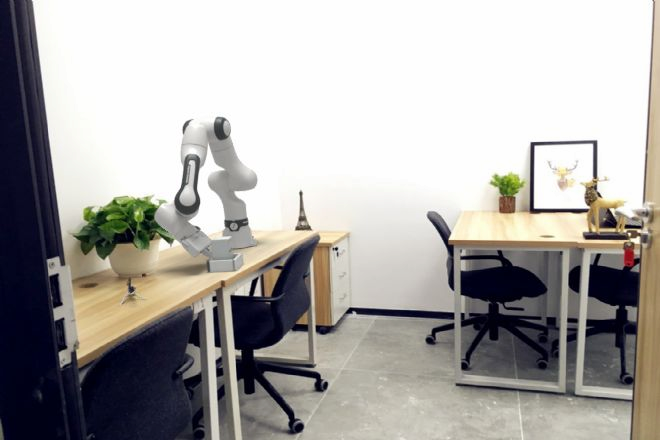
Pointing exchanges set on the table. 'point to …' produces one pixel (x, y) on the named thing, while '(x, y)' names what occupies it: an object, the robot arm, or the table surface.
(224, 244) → the supplement box
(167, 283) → the table surface
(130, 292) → the figurine
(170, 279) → the table surface
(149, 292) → the table surface
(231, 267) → the tray
